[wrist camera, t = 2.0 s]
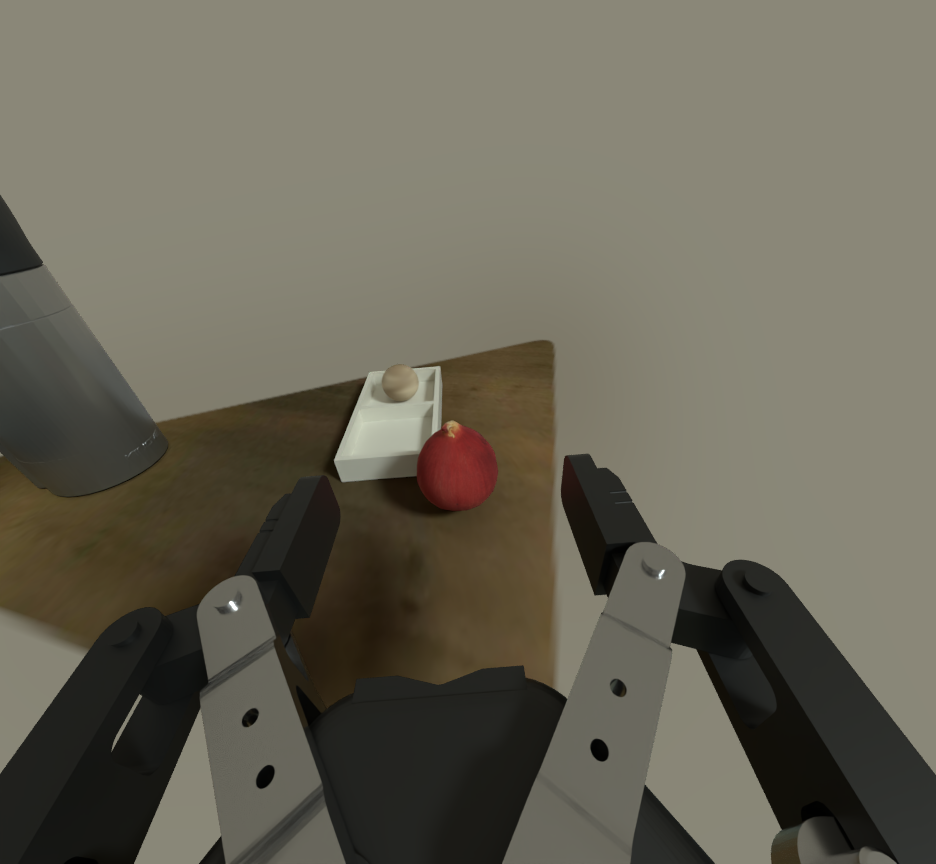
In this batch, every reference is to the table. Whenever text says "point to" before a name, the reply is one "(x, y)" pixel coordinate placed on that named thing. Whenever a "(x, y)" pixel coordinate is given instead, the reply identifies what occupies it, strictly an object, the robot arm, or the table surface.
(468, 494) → the onion
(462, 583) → the table surface
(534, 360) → the table surface
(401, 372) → the beige wooden ball
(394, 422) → the white divided tray
